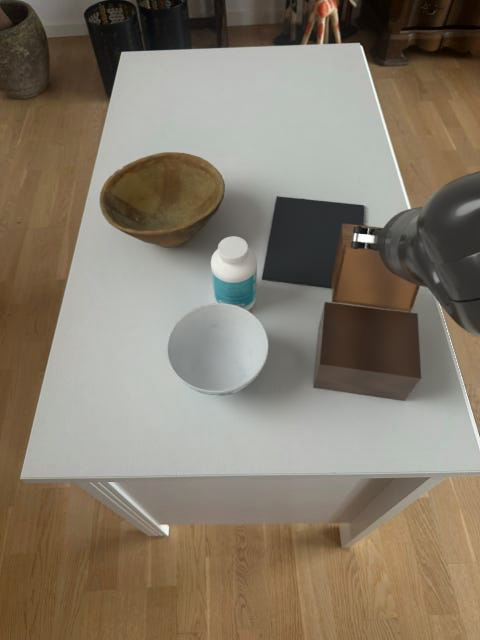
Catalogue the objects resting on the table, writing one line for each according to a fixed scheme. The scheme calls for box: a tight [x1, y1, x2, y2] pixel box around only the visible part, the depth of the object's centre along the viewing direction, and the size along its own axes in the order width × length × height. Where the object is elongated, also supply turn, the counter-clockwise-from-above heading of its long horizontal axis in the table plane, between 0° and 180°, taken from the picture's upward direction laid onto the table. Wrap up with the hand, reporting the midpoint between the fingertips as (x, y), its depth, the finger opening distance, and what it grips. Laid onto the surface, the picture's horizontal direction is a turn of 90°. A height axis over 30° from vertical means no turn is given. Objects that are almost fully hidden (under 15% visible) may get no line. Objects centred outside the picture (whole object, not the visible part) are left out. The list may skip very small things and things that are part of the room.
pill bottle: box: [210, 235, 258, 311], centre depth 73 cm, size 8×7×14 cm
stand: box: [312, 301, 422, 402], centre depth 68 cm, size 14×11×8 cm
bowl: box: [99, 151, 226, 248], centre depth 84 cm, size 22×23×10 cm
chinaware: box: [166, 302, 270, 397], centre depth 68 cm, size 15×15×8 cm
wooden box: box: [331, 224, 421, 313], centre depth 67 cm, size 12×10×7 cm
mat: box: [261, 195, 365, 289], centre depth 86 cm, size 18×22×1 cm
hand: (391, 240), depth 60 cm, fingers closed
